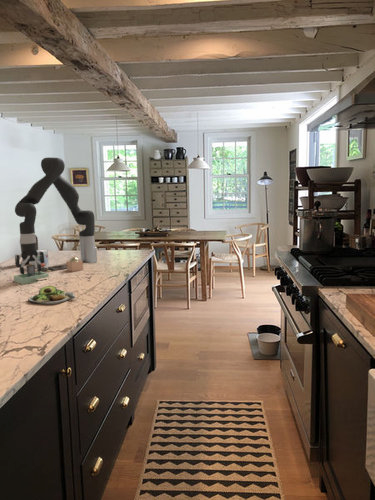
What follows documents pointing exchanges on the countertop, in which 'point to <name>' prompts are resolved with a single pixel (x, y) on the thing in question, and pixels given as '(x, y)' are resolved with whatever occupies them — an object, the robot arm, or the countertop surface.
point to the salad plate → (51, 296)
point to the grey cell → (30, 270)
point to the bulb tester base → (52, 268)
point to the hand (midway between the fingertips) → (31, 272)
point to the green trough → (25, 280)
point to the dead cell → (74, 259)
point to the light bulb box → (39, 258)
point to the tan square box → (74, 265)
